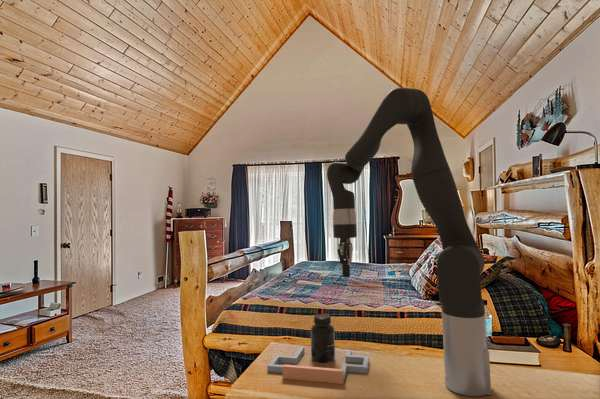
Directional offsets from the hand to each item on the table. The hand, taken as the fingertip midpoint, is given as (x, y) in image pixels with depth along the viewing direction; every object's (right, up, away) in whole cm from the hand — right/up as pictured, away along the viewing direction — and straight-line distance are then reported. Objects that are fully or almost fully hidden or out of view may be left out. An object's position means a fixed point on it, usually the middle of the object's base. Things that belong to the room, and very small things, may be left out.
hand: (346, 276), depth 115 cm
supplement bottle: (-8, -21, -13) cm, 26 cm away
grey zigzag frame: (-10, -21, -18) cm, 29 cm away
